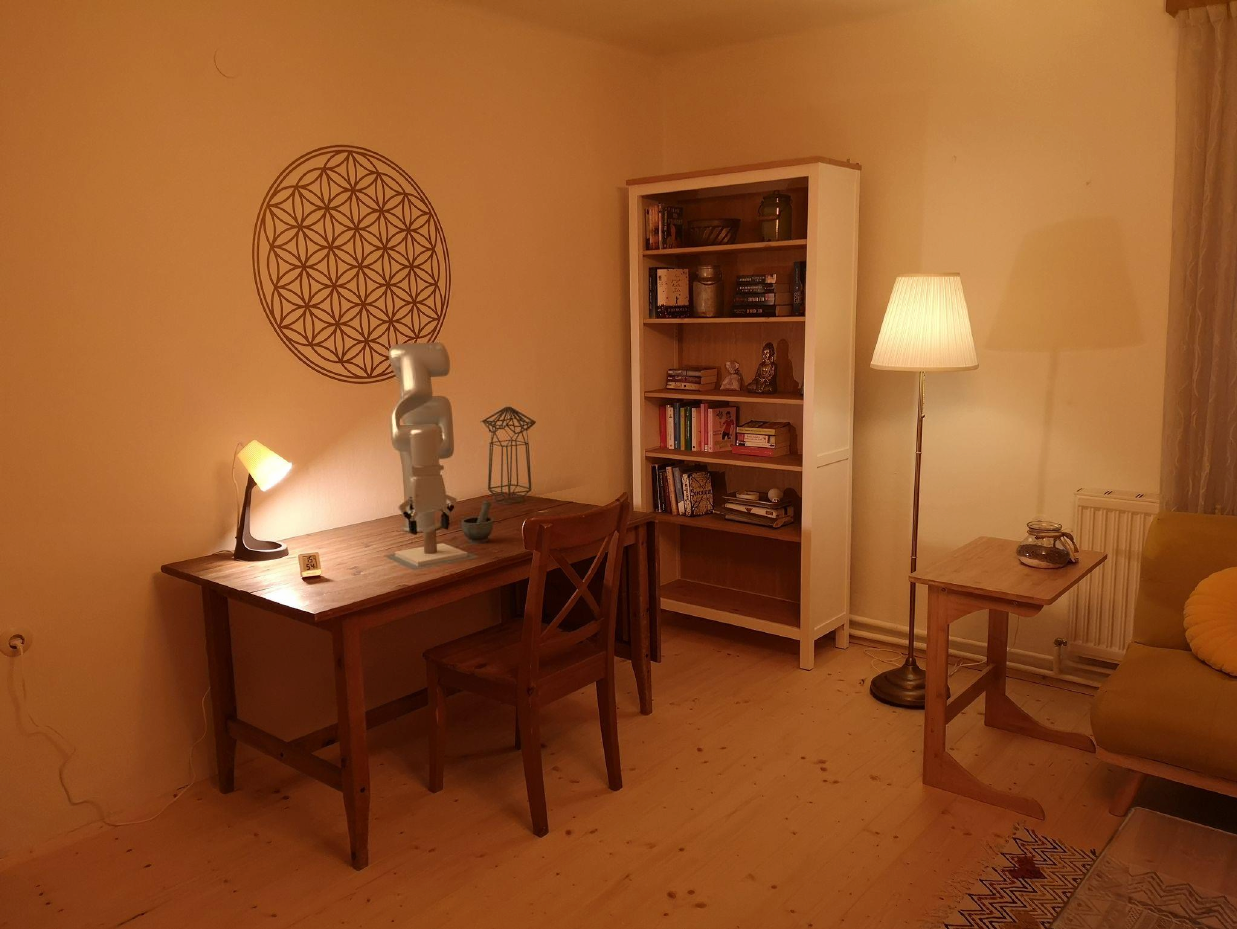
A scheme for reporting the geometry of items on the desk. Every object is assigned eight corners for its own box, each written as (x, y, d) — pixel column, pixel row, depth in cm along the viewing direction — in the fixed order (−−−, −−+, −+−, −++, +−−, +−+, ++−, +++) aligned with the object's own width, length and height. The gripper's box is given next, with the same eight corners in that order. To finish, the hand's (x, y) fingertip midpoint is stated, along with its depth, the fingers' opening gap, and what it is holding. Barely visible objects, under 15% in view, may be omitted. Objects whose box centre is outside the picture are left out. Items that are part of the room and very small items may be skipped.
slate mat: (383, 557, 274) (383, 555, 273) (446, 546, 285) (446, 544, 285) (413, 571, 258) (413, 569, 258) (479, 559, 269) (479, 556, 269)
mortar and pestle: (480, 547, 282) (478, 507, 281) (455, 544, 287) (453, 505, 285) (503, 539, 292) (501, 500, 290) (479, 536, 297) (477, 498, 295)
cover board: (395, 555, 273) (393, 531, 272) (442, 547, 282) (441, 523, 281) (418, 566, 261) (416, 540, 260) (467, 556, 270) (465, 531, 269)
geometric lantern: (515, 496, 361) (513, 403, 355) (539, 502, 349) (538, 407, 343) (479, 501, 351) (477, 406, 345) (503, 508, 339) (501, 410, 333)
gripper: (447, 466, 275) (451, 525, 278) (391, 473, 265) (395, 534, 268) (460, 469, 269) (463, 528, 272) (402, 476, 259) (406, 538, 262)
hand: (429, 531), depth 270 cm, fingers open, 9 cm apart
